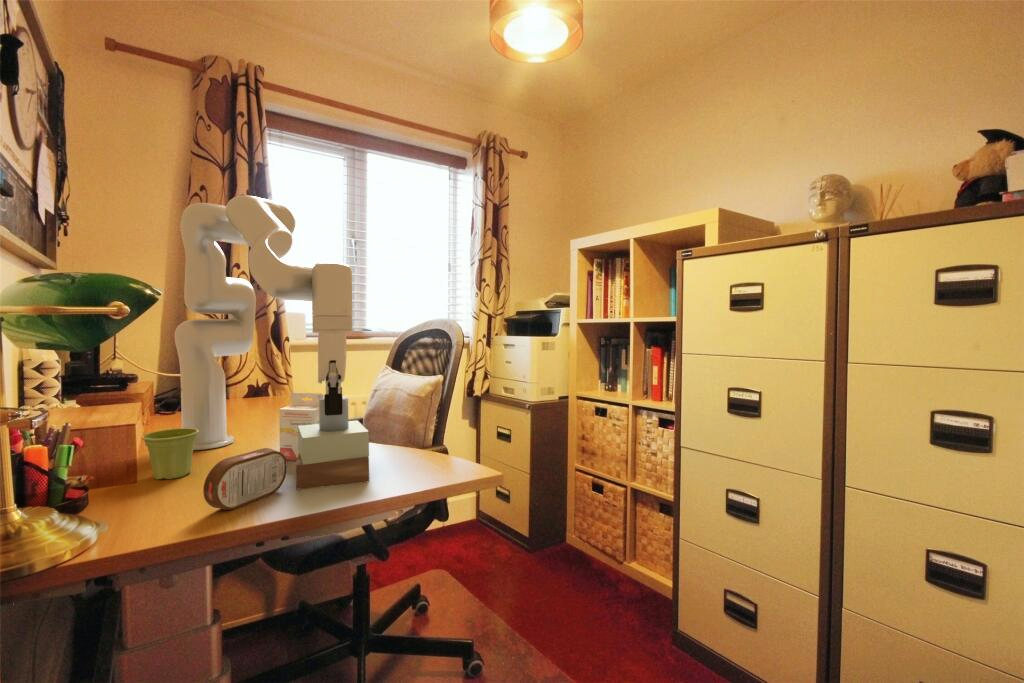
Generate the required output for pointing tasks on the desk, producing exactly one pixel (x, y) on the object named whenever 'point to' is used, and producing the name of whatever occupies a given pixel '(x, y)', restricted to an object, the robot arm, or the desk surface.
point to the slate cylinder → (333, 417)
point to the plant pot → (171, 451)
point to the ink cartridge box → (297, 421)
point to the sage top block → (332, 443)
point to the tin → (245, 478)
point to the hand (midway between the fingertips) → (333, 410)
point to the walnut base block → (331, 472)
